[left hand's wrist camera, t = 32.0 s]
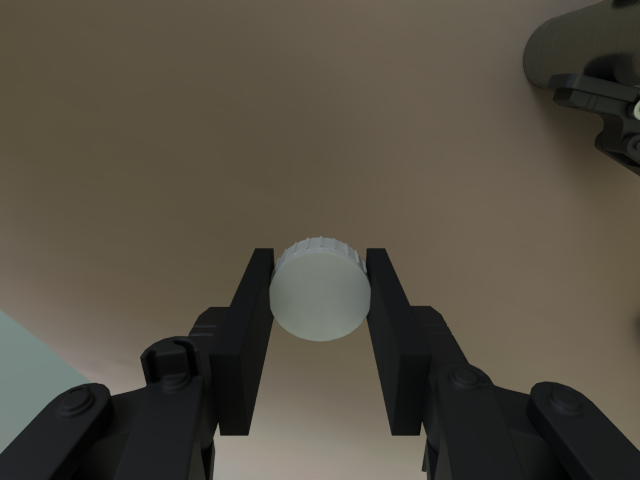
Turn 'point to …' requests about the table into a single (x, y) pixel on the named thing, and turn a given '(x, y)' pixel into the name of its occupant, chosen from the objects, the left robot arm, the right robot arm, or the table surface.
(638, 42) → the bottle
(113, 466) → the left robot arm
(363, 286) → the cap
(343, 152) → the table surface
